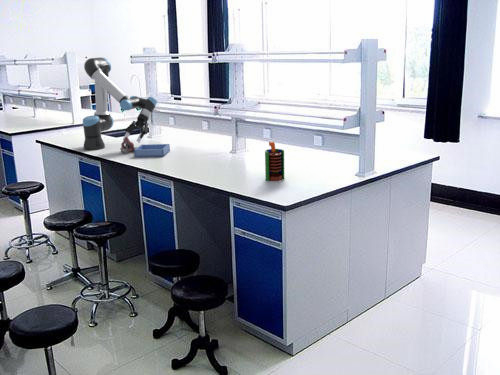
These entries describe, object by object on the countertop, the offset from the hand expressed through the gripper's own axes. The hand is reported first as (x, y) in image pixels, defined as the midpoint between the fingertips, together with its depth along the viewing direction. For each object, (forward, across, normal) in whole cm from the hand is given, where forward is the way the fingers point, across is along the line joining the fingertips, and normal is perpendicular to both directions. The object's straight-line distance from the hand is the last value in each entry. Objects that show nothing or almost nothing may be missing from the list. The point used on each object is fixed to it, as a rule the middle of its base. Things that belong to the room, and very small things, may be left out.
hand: (131, 141), depth 357 cm
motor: (+20, -128, +7) cm, 130 cm away
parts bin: (+5, -19, -6) cm, 21 cm away
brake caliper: (+7, +1, -4) cm, 8 cm away
